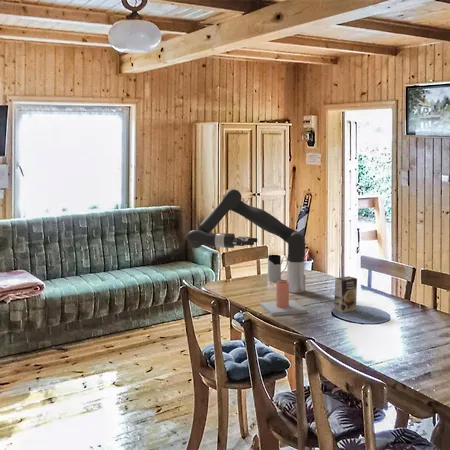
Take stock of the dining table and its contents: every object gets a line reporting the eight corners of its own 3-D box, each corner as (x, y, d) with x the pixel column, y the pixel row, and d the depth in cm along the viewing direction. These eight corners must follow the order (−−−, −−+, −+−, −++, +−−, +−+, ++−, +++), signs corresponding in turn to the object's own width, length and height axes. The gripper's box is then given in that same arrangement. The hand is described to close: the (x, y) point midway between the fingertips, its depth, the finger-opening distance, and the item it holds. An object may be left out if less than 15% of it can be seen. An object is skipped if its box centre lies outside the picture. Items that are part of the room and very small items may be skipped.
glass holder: (264, 279, 333) (264, 255, 331) (283, 276, 340) (283, 253, 338) (272, 282, 325) (272, 257, 323) (291, 279, 332) (292, 255, 330)
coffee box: (342, 313, 265) (342, 280, 263) (333, 309, 271) (334, 277, 268) (356, 310, 269) (357, 278, 267) (348, 307, 275) (348, 275, 273)
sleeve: (281, 303, 276) (281, 280, 274) (291, 306, 272) (291, 282, 270) (274, 306, 272) (274, 282, 270) (283, 308, 268) (283, 284, 266)
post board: (292, 302, 283) (293, 278, 281) (306, 312, 266) (307, 287, 264) (259, 305, 278) (259, 281, 277) (271, 315, 261) (272, 290, 259)
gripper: (221, 235, 276) (252, 236, 272) (228, 231, 290) (258, 232, 286) (221, 250, 278) (252, 251, 273) (228, 245, 291) (258, 246, 287)
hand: (255, 241), depth 280 cm, fingers open, 8 cm apart
